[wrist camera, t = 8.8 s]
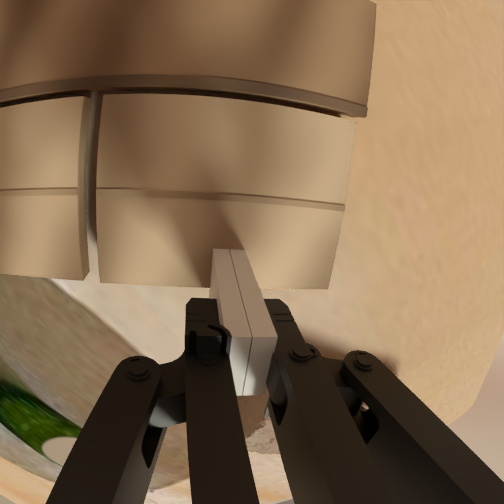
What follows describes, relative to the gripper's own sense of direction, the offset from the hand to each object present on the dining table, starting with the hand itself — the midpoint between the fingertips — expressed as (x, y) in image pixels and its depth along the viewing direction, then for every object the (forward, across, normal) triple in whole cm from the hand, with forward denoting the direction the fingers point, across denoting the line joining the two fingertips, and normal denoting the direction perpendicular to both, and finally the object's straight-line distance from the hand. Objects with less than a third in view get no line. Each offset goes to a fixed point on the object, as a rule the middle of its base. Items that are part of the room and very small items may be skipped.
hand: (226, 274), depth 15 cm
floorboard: (+2, -7, +12) cm, 14 cm away
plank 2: (+1, 0, +4) cm, 4 cm away
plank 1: (+1, -13, +4) cm, 14 cm away
